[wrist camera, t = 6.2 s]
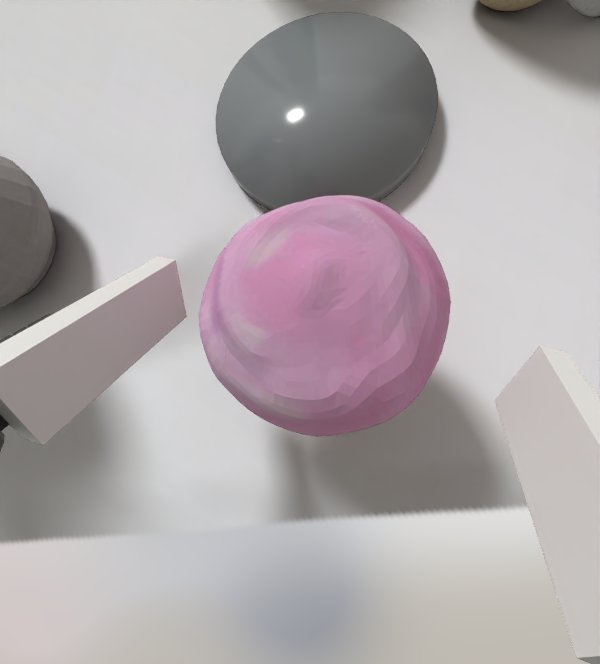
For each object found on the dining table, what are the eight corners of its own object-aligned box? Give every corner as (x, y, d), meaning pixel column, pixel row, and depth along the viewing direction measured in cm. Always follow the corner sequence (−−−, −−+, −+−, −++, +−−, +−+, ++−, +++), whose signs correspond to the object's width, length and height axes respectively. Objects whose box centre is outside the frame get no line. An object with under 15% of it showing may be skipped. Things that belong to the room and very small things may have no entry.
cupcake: (373, 247, 17) (420, 85, 7) (426, 384, 16) (569, 406, 6) (239, 294, 18) (122, 202, 8) (277, 428, 17) (189, 512, 7)
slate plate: (198, 199, 19) (189, 188, 18) (254, 27, 21) (249, 6, 20) (403, 238, 17) (408, 228, 16) (451, 41, 18) (459, 18, 17)
